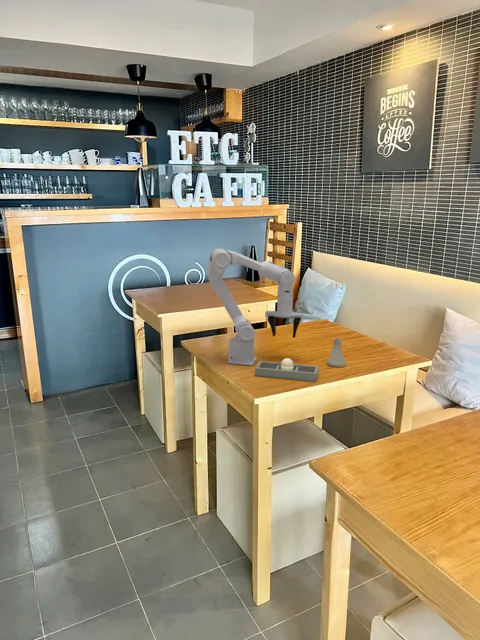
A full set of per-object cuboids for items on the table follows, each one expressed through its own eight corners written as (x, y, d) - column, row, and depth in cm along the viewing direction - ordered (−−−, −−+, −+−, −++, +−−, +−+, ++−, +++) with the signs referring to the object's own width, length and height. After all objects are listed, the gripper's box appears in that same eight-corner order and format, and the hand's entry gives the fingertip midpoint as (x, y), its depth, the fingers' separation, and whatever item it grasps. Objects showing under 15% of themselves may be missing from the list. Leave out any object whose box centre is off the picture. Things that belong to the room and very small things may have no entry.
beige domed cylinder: (279, 374, 172) (280, 360, 170) (281, 370, 176) (282, 356, 175) (292, 375, 171) (292, 361, 169) (294, 371, 175) (294, 357, 174)
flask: (344, 361, 188) (346, 336, 185) (347, 368, 181) (348, 342, 178) (325, 360, 188) (326, 335, 186) (327, 367, 181) (328, 341, 179)
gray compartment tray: (255, 376, 173) (255, 368, 172) (259, 368, 180) (259, 361, 179) (315, 382, 167) (316, 373, 167) (318, 374, 174) (318, 366, 174)
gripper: (305, 300, 186) (304, 334, 189) (268, 298, 189) (267, 332, 193) (303, 304, 179) (302, 339, 182) (264, 301, 183) (263, 337, 186)
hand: (284, 336), depth 187 cm, fingers open, 7 cm apart
